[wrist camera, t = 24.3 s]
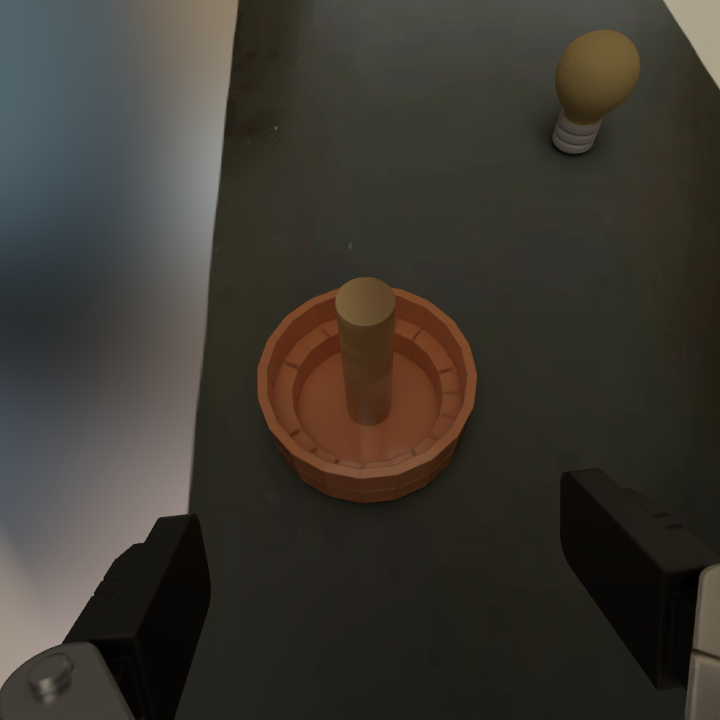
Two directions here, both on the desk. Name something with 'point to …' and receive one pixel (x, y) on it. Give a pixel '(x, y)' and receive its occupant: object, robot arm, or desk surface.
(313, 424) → the bowl
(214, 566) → the desk surface
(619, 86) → the light bulb
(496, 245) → the desk surface
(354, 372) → the stick
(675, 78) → the desk surface
